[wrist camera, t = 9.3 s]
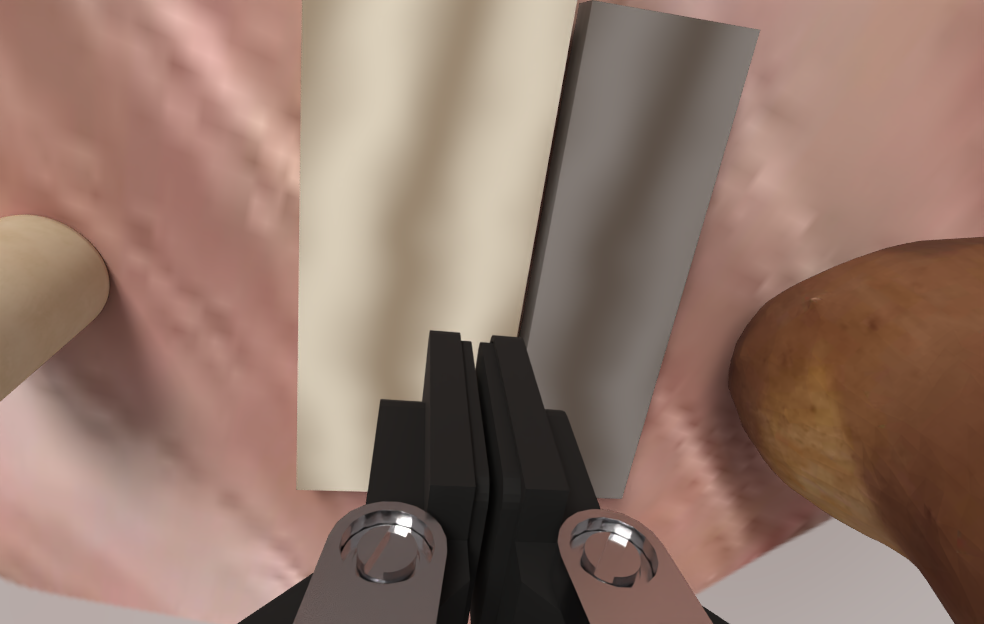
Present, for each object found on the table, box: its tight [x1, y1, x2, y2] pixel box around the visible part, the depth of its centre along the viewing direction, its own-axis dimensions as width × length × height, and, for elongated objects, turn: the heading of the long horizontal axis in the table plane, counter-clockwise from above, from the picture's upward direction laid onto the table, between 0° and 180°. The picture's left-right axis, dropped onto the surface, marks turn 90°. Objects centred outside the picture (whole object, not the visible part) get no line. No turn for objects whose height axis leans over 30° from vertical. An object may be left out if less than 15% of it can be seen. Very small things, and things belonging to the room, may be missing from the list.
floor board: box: [519, 0, 760, 499], centre depth 29 cm, size 7×24×2 cm, turn 172°
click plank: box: [296, 0, 577, 492], centre depth 27 cm, size 10×24×2 cm, turn 172°
